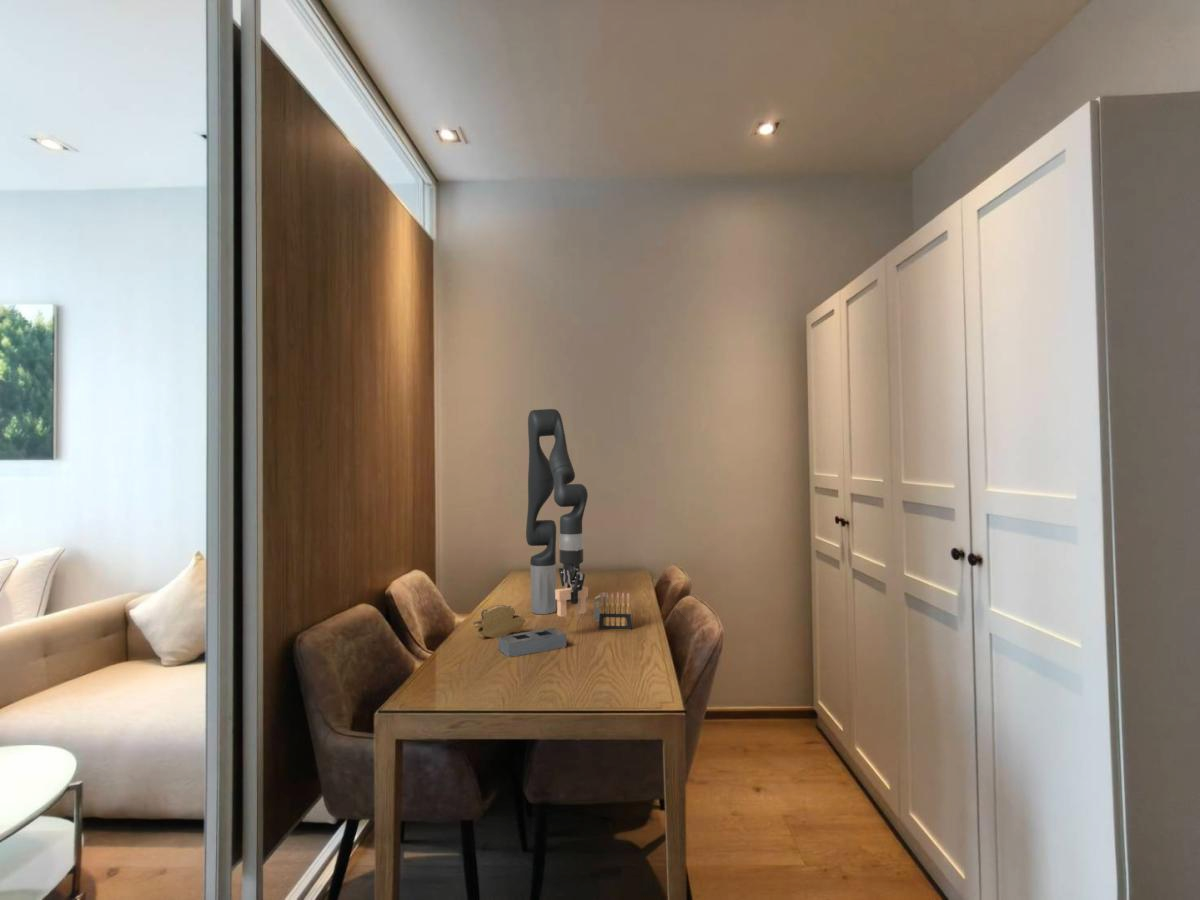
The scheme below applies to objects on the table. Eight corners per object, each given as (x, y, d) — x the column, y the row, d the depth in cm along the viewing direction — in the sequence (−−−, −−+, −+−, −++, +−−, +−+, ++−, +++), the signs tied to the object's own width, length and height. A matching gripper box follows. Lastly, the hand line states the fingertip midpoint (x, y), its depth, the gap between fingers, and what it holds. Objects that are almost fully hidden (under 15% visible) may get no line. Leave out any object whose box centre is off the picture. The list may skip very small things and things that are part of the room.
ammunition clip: (632, 628, 209) (631, 591, 209) (631, 629, 207) (631, 592, 207) (599, 627, 210) (599, 591, 210) (598, 629, 208) (598, 592, 209)
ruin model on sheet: (603, 622, 219) (602, 594, 219) (594, 622, 219) (594, 593, 219) (609, 614, 230) (609, 587, 230) (601, 614, 230) (600, 587, 231)
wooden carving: (519, 631, 207) (519, 600, 208) (525, 634, 204) (525, 602, 204) (471, 639, 199) (471, 607, 199) (477, 642, 195) (476, 609, 195)
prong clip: (555, 615, 200) (555, 589, 200) (583, 610, 205) (583, 585, 205) (559, 617, 197) (559, 591, 197) (588, 612, 202) (587, 587, 202)
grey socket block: (498, 650, 187) (498, 636, 187) (554, 640, 196) (554, 627, 196) (509, 657, 180) (508, 643, 180) (566, 647, 189) (566, 633, 189)
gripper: (550, 545, 205) (551, 599, 205) (570, 551, 193) (571, 608, 193) (571, 543, 209) (572, 596, 209) (592, 549, 197) (593, 605, 197)
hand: (571, 602), depth 201 cm, fingers closed on prong clip, 3 cm apart
